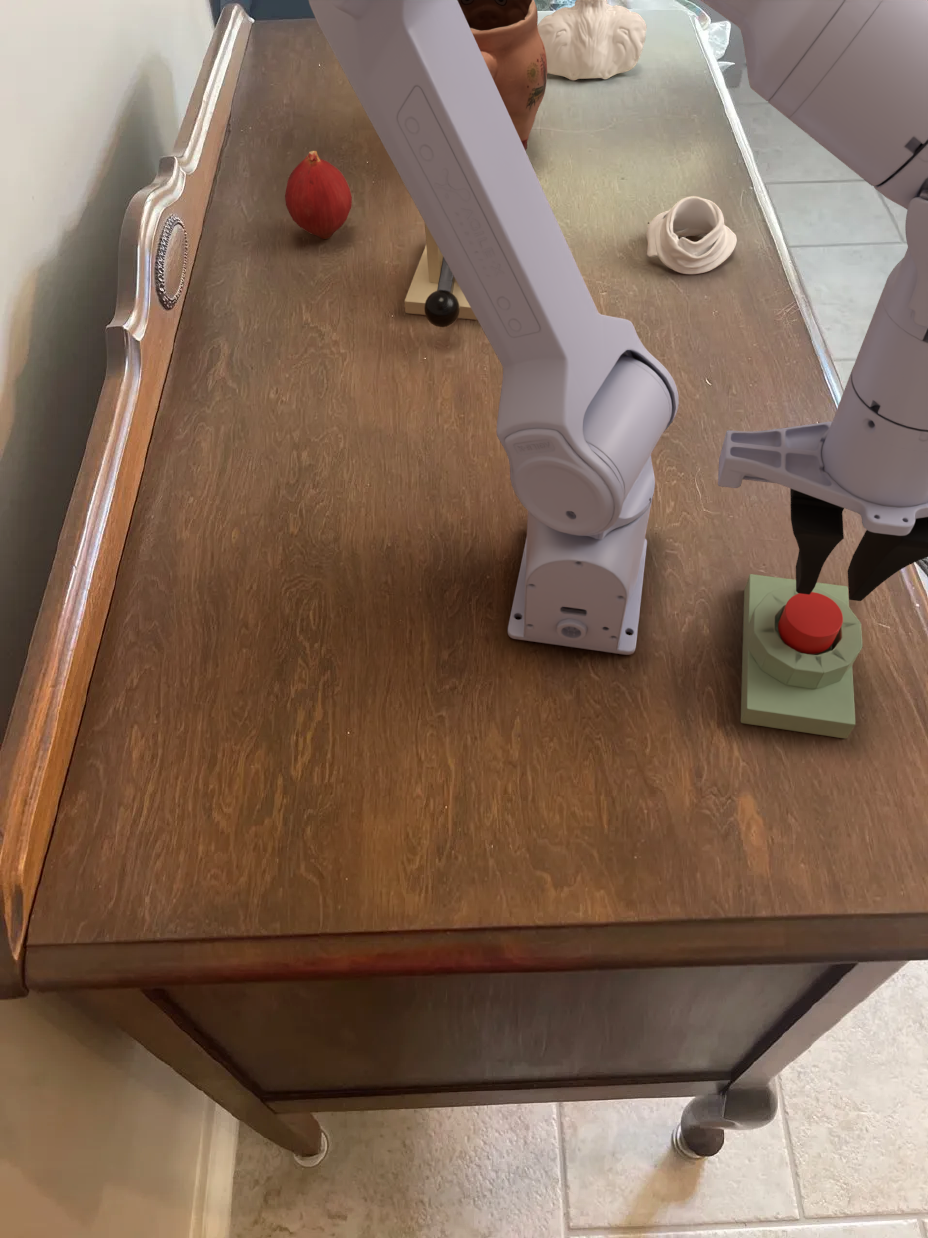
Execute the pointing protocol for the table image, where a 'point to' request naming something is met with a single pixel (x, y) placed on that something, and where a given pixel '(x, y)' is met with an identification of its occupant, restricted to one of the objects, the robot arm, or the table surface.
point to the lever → (443, 300)
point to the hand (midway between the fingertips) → (828, 582)
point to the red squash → (318, 196)
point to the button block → (796, 665)
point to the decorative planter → (511, 55)
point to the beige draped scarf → (690, 221)
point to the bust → (592, 40)
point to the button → (810, 622)
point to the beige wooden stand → (432, 282)
